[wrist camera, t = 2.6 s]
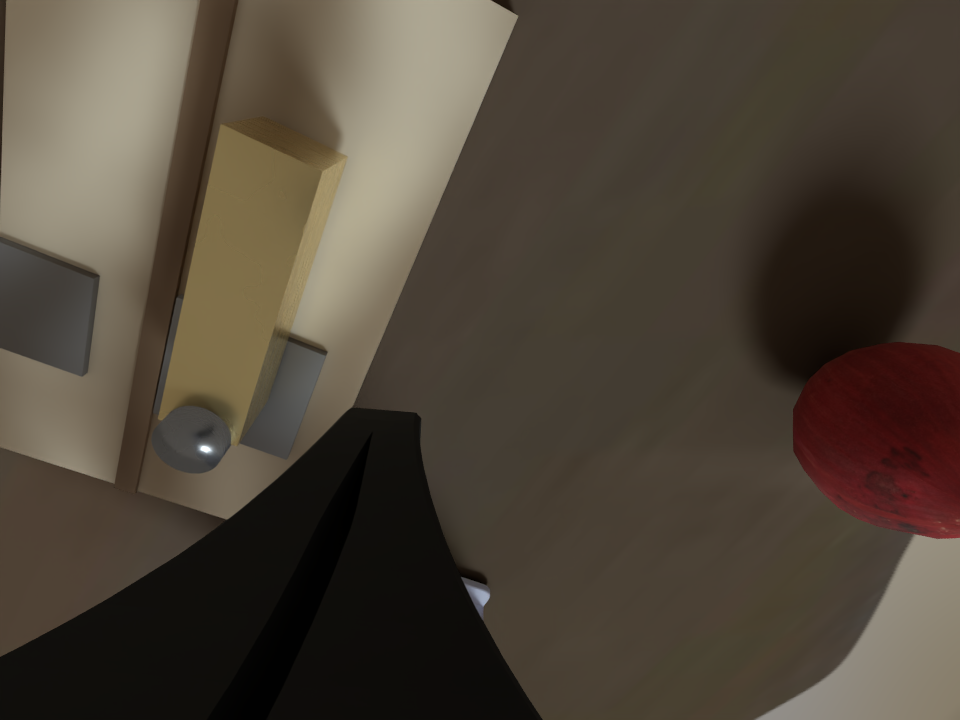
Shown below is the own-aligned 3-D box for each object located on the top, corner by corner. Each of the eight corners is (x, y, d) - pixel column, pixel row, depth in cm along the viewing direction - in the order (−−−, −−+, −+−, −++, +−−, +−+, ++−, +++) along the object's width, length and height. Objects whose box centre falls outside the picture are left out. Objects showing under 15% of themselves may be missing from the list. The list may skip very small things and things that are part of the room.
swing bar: (261, 420, 19) (220, 484, 16) (195, 396, 19) (139, 457, 16) (349, 156, 15) (313, 176, 12) (264, 116, 14) (206, 126, 11)
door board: (515, 20, 14) (518, 14, 13) (303, 520, 24) (293, 546, 22) (55, -242, 12) (3, -279, 11) (17, 426, 21) (-14, 449, 20)
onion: (797, 461, 22) (946, 645, 15) (724, 373, 20) (855, 537, 13) (940, 379, 20) (1190, 545, 13) (875, 272, 18) (1127, 400, 11)
